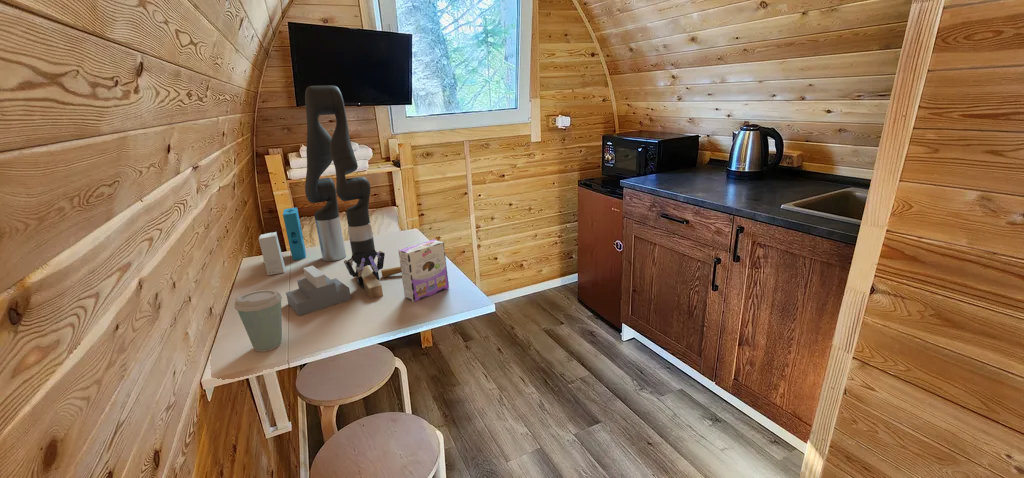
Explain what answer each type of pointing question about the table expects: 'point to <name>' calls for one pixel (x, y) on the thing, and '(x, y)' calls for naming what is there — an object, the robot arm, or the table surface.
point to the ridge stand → (316, 292)
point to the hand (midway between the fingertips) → (368, 283)
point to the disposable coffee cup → (261, 318)
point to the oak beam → (371, 283)
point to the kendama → (390, 271)
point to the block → (294, 233)
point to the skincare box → (271, 253)
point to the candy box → (423, 269)
